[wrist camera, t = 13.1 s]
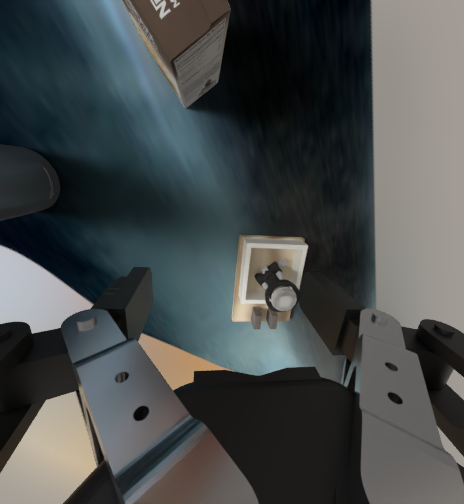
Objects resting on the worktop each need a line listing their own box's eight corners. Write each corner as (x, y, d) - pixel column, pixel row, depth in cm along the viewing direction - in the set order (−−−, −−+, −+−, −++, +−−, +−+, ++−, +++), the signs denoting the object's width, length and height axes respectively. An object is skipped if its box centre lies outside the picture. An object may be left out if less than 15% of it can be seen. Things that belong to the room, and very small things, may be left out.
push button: (275, 248, 41) (296, 272, 31) (291, 268, 42) (316, 296, 33) (247, 271, 42) (260, 301, 32) (264, 289, 43) (281, 322, 34)
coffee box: (141, 43, 29) (76, -86, 14) (180, 10, 29) (152, -162, 14) (185, 111, 33) (168, 61, 18) (221, 82, 32) (234, 7, 17)
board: (231, 317, 46) (234, 331, 42) (239, 234, 40) (242, 241, 36) (286, 317, 48) (294, 330, 44) (302, 237, 42) (312, 244, 38)
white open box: (238, 295, 43) (240, 303, 40) (244, 237, 39) (247, 242, 36) (290, 295, 44) (296, 303, 42) (301, 240, 41) (308, 245, 38)
